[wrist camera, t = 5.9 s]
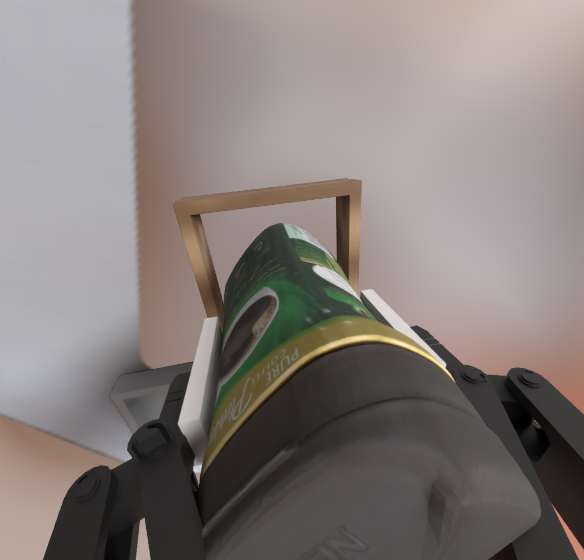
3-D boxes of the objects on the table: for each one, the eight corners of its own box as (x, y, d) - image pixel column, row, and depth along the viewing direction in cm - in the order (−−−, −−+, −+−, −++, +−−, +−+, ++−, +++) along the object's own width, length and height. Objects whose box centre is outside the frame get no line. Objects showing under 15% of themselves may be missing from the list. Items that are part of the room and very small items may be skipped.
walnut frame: (183, 197, 21) (172, 203, 18) (345, 178, 23) (361, 180, 20) (222, 332, 28) (218, 353, 25) (345, 309, 29) (356, 327, 26)
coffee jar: (283, 330, 25) (359, 669, 8) (212, 295, 21) (105, 729, 5) (344, 256, 22) (634, 530, 6) (274, 204, 19) (467, 480, 2)
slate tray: (121, 375, 28) (108, 395, 26) (272, 346, 30) (275, 362, 27) (166, 452, 35) (160, 474, 33) (286, 425, 37) (289, 443, 35)
